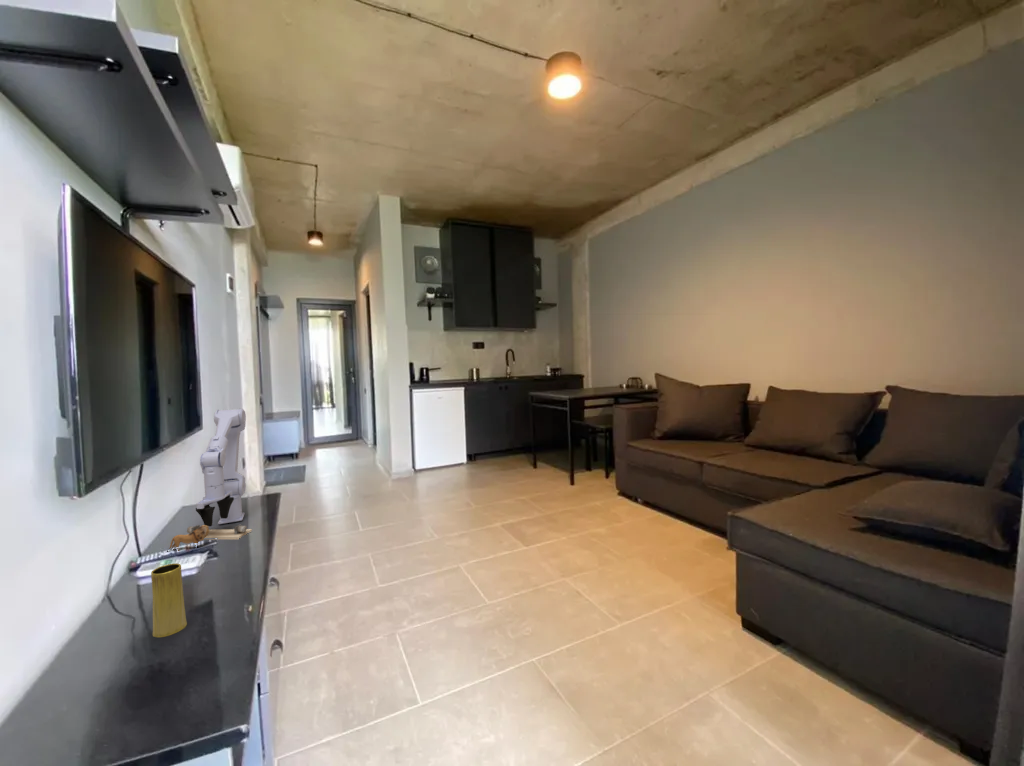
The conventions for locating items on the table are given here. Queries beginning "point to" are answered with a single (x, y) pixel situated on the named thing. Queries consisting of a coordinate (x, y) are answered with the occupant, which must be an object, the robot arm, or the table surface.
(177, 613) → the vase
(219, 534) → the shaft rig
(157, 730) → the table surface
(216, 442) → the robot arm
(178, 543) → the lion figurine
